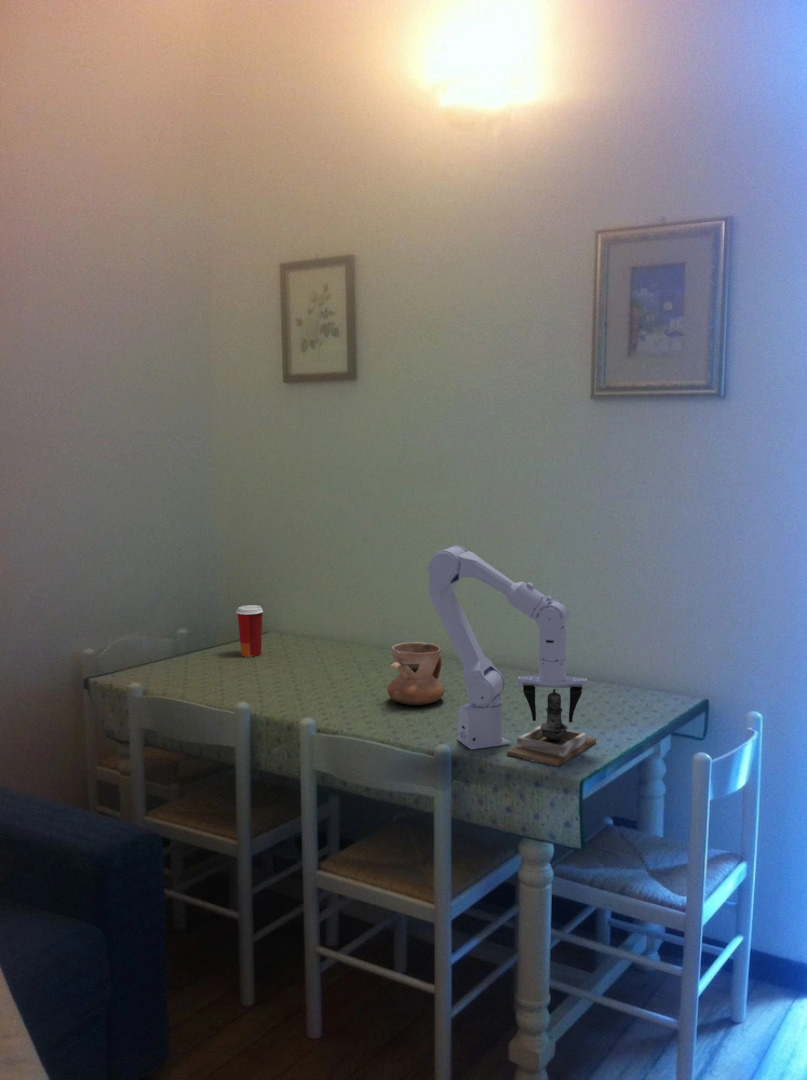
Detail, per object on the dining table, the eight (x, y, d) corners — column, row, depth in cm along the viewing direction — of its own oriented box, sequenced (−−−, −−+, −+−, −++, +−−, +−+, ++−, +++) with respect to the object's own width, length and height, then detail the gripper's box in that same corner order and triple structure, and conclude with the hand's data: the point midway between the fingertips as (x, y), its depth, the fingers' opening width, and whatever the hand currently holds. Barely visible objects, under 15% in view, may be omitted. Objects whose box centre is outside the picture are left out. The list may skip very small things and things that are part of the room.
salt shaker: (538, 738, 212) (538, 685, 210) (565, 738, 212) (565, 684, 210) (542, 747, 206) (542, 692, 205) (569, 747, 206) (570, 692, 205)
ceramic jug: (413, 714, 234) (414, 657, 233) (372, 702, 245) (372, 647, 243) (461, 700, 247) (462, 645, 246) (420, 689, 257) (421, 637, 256)
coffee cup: (265, 651, 302) (264, 604, 301) (263, 657, 294) (262, 609, 293) (238, 652, 302) (237, 605, 300) (236, 658, 294) (234, 610, 292)
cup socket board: (557, 766, 197) (558, 752, 197) (506, 755, 204) (506, 741, 204) (595, 742, 211) (596, 729, 211) (547, 733, 219) (547, 720, 218)
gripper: (586, 654, 208) (586, 715, 210) (519, 653, 211) (519, 713, 212) (587, 662, 201) (587, 725, 203) (517, 660, 204) (517, 723, 205)
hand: (552, 720), depth 207 cm, fingers open, 7 cm apart
